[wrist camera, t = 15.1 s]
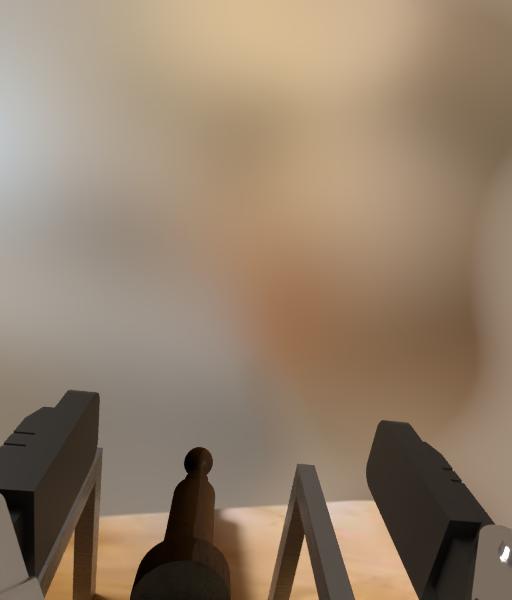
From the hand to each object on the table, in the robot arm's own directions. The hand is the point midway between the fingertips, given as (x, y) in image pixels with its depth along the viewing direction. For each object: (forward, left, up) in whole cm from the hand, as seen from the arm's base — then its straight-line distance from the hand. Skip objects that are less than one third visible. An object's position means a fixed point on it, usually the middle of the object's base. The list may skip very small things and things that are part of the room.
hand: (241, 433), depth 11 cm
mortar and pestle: (-1, +9, -20) cm, 22 cm away
